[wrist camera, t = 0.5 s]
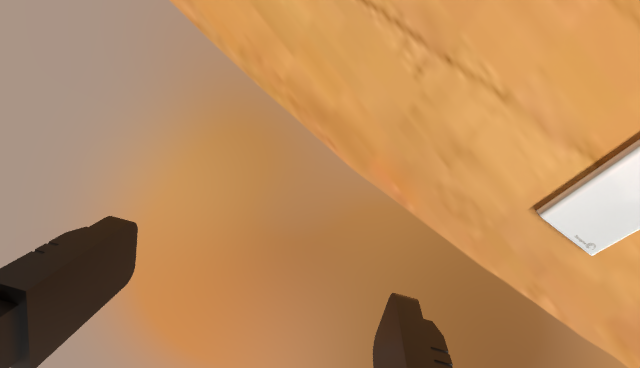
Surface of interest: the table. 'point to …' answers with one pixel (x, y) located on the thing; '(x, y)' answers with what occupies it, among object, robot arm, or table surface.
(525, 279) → the table surface
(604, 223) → the hard drive
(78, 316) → the robot arm
